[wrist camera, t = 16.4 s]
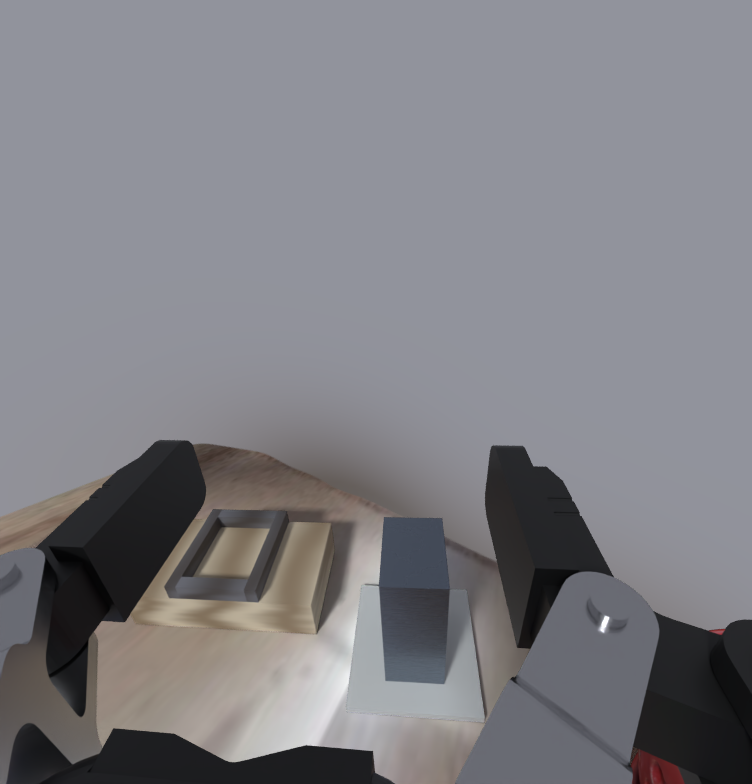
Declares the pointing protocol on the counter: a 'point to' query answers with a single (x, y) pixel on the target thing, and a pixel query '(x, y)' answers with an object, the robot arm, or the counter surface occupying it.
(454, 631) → the rubber mat
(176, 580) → the tan piece
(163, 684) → the counter surface
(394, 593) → the brushed metal block
